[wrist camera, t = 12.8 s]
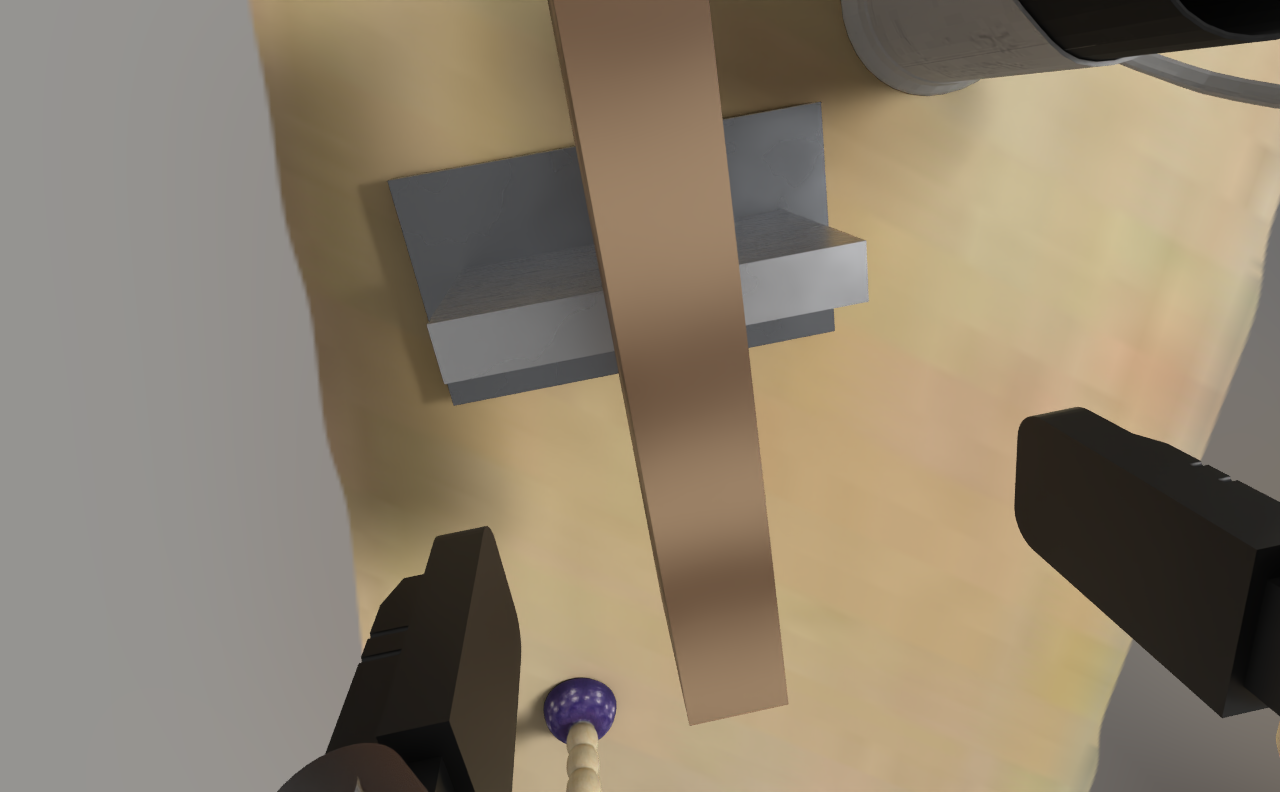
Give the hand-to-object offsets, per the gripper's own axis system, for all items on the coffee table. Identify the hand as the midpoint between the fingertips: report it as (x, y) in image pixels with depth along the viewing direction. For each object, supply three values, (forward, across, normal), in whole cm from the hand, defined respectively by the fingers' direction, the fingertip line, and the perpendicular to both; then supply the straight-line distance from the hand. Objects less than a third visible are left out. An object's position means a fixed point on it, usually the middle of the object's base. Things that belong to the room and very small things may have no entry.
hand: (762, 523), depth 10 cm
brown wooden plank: (+12, 0, 0) cm, 13 cm away
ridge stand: (+22, 0, 0) cm, 22 cm away
